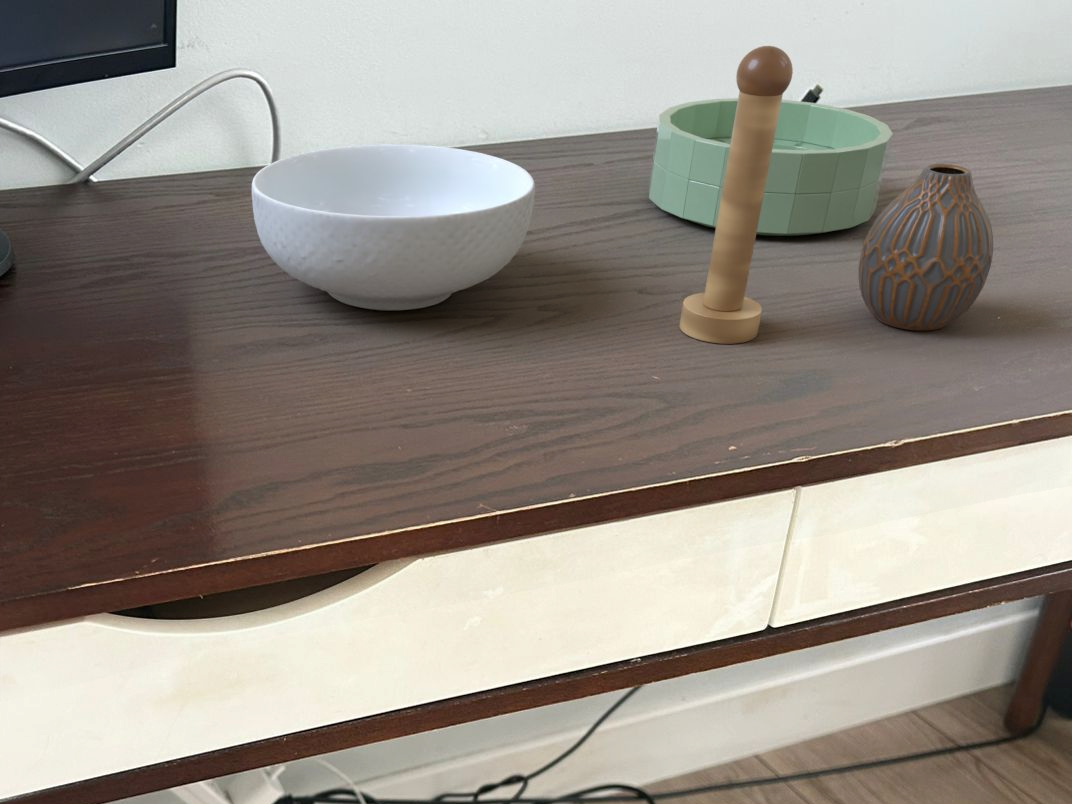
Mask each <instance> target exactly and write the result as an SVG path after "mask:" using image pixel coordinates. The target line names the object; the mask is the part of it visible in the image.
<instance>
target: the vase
mask: <svg viewBox="0 0 1072 804" xmlns="http://www.w3.org/2000/svg"><path fill="white" fill-rule="evenodd" d="M972 175H973V174H972V171H971V170H970V169H969V168H966V167H965V166H962V165H961V166H960V165H956V164H949V163H933V164H929V165H926V166H925V167H924V168H923V169H922V170H921V172H920V174H919V175H918V176H917V178H916V179H915V180H914V181H913V182H912V184H910V185H909V186H908V187H907V188H905V190H903V191H902V192H901V193H900V194H899V195H897V196H896V197H895V198H894V199H892V200H891V202H890V203H888V204H887V205H886V206H885V207H884V208H883V209H882V210H881V212H880V213H879V214H878V215H877V217H876V219H875V220H874V222H873V223H872V225H871V227H870V228H869V230H868V232H867V234H866V237H865V239H864V241H863V243H862V249H861V252H860V257H859V263H858V285H859V291H860V295H861V298H862V300H863V302H864V304H865V306H866V308H867V309H868V310H869V312H870V313H871V314H872V316H873V317H874V318H875V319H876V320H878V321H879V322H881V323H882V324H885V325H887V326H889V327H890V326H891V327H893V328H897V329H902V330H908V331H909V330H910V331H925V332H926V331H935V330H939V329H942V328H944V327H946V326H947V325H950V324H951V323H953V322H954V321H956V320H957V319H959V318H960V317H961V316H963V315H964V314H965V313H966V312H968V310H969V309H970V308H971V307H972V305H973V304H974V303H975V301H976V300H977V298H978V297H979V295H980V294H981V292H982V290H983V288H984V286H985V284H986V281H987V279H988V276H989V273H990V271H991V270H990V269H991V266H992V262H993V256H994V234H993V233H994V232H993V228H992V224H991V221H990V218H989V215H988V213H987V211H986V210H985V208H984V206H983V203H982V202H981V200H980V198H979V196H978V194H977V192H976V189H975V186H974V181H973V176H972Z"/></svg>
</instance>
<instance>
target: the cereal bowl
mask: <svg viewBox="0 0 1072 804" xmlns="http://www.w3.org/2000/svg"><path fill="white" fill-rule="evenodd" d="M535 183H536V182H535V180H534V178H533V176H532V175H531V174H530V173H529V171H527V170H526V169H525V168H523V167H522V166H520V165H518V164H516V163H514V162H511V161H509V160H506V159H504V158H500V157H497V156H494V155H491V154H490V155H489V154H486V153H482V152H479V151H478V152H477V151H474V150H473V151H472V150H468V149H462V148H456V147H455V148H454V147H447V146H446V147H445V146H439V145H436V146H435V145H425V144H403V143H402V144H401V143H400V144H399V143H382V144H379V143H378V144H361V145H359V144H358V145H348V146H338V147H337V146H336V147H329V148H321V149H317V150H311V151H306V152H302V153H297V154H294V155H290V156H287V157H284V158H280V159H278V160H276V161H273V162H271V163H269V164H268V165H266V166H264V167H263V168H261V169H260V170H259V171H258V172H256V174H255V175H254V177H253V179H252V181H251V200H252V201H251V203H252V204H251V206H252V212H253V220H254V224H255V229H256V231H257V235H258V238H259V240H260V244H261V245H262V247H263V248H264V250H265V251H266V253H267V254H268V256H269V257H270V258H271V260H272V261H273V262H274V263H275V264H276V265H277V266H278V267H279V268H280V269H282V270H283V271H284V272H285V273H287V274H288V275H289V276H290V277H292V278H294V279H296V280H298V281H299V282H301V283H304V284H306V285H307V286H311V287H313V288H314V289H319V290H321V291H324V292H326V293H327V294H328V295H329V296H331V297H332V298H333V299H335V300H336V301H338V302H341V303H342V304H345V305H348V306H351V307H356V308H361V309H366V310H373V311H375V310H376V311H408V310H418V309H424V308H428V307H431V306H435V305H437V304H440V303H442V302H444V301H445V300H447V299H448V298H449V297H450V296H452V294H453V293H456V292H458V291H462V290H466V289H468V288H471V287H473V286H475V285H478V284H480V283H483V282H484V281H486V280H489V279H490V278H491V277H492V276H495V275H496V274H498V272H499V271H501V270H503V269H504V268H505V266H506V265H508V264H509V263H510V262H511V261H512V259H513V258H514V257H515V256H516V255H517V254H518V252H519V250H520V248H521V247H522V245H523V244H524V241H525V239H526V237H527V233H528V230H529V227H530V225H531V223H532V222H531V219H532V217H533V212H534V210H533V209H534V203H535V193H536V184H535Z"/></svg>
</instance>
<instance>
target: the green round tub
mask: <svg viewBox="0 0 1072 804" xmlns="http://www.w3.org/2000/svg"><path fill="white" fill-rule="evenodd" d="M737 103H738V97H733V98H731V97H730V98H713V99H704V100H695V101H688V102H684V103H682V104H681V103H680V104H678V105H674V106H669V107H668V108H667V109H665V110H664V111H663V112H661V113H660V114H659V115H658V119H657V125H656V126H657V127H656V133H655V140H654V147H653V153H652V162H651V168H650V173H649V174H650V176H649V181H648V199H649V200H650V201H651V202H652V203H653V204H654V205H656V206H657V207H658V208H659V209H661V210H662V211H665V212H667V213H669V214H671V215H674V216H676V217H678V218H681V219H683V220H687V221H689V222H692V223H695V224H696V225H697V224H698V225H701V226H704V227H707V228H712V229H716V224H717V219H718V213H719V207H720V201H721V195H722V190H723V184H724V178H725V172H726V166H727V161H728V155H729V149H730V143H731V137H732V132H733V126H734V120H735V114H736V108H737ZM893 136H894V133H893V132H892V130H891V129H890V126H889V125H888V124H886V123H884V122H883V121H880V120H879V119H876V118H875V117H872V116H870V115H867V114H864V113H861V112H857V111H854V110H851V109H848V108H842V107H837V106H833V105H826V104H821V103H817V102H809V101H801V100H800V101H799V100H790V99H782V101H781V106H780V111H779V117H778V122H777V127H776V132H775V138H774V143H773V148H772V153H771V159H770V164H769V169H768V175H767V180H766V185H765V190H764V196H763V201H762V206H761V212H760V217H759V222H758V227H757V233H756V236H770V237H771V236H774V237H783V236H784V237H792V236H793V237H794V236H809V235H816V234H823V233H828V232H833V231H841V230H845V229H852V228H854V227H856V226H858V225H861V224H863V223H866V222H869V220H870V219H871V218H872V216H873V215H874V213H875V212H876V208H877V204H878V200H879V196H880V192H881V187H882V184H883V179H884V175H885V174H884V173H885V171H886V166H887V162H888V157H889V153H890V149H891V145H892V140H893Z"/></svg>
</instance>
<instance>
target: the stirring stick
mask: <svg viewBox="0 0 1072 804" xmlns="http://www.w3.org/2000/svg"><path fill="white" fill-rule="evenodd" d="M793 70H794V69H793V64H792V60H791V57H789V55H788V54H787V52H785V51H784V50H783V49H781V48H779V47H777V46H774V45H762V46H759V47H756V48H754V49H752V50H751V51H749V52H748V53H747V54H746V55H744V56H743V58H742V59H741V61H740V62H739V64H738V67H737V69H736V77H735V78H736V85H737V89H738V90H739V92H738V97H737V98H738V103H737V108H736V114H735V120H734V126H733V132H732V137H731V143H730V149H729V155H728V161H727V166H726V172H725V178H724V184H723V190H722V195H721V201H720V207H719V213H718V219H717V224H716V228H715V230H714V237H713V242H712V248H711V255H710V260H709V265H708V272H707V278H706V283H705V289H704V292H699V293H694V294H691V295H689V296H687V297H685V298H684V300H683V302H682V307H681V313H680V319H679V329H680V331H681V332H682V333H683V334H684V335H687V337H690V338H693V339H696V340H699V341H702V342H707V343H712V344H721V345H732V344H742V343H743V344H744V343H747V342H750V341H752V340H754V339H755V338H756V337H757V336H758V334H759V330H760V329H759V328H760V323H761V319H762V313H763V307H762V305H761V304H760V303H758V302H757V301H756V300H753V299H751V298H749V297H746V290H747V286H748V279H749V274H750V269H751V264H752V258H753V253H754V247H755V243H756V237H757V235H756V233H757V227H758V222H759V217H760V212H761V206H762V201H763V196H764V190H765V185H766V180H767V175H768V169H769V164H770V159H771V153H772V148H773V143H774V138H775V132H776V127H777V122H778V117H779V111H780V106H781V101H782V100H783V95H784V93H785V92H786V91H787V89H788V88H789V86H790V85H791V82H792V80H793V79H792V78H793V74H794V73H793V72H794V71H793Z"/></svg>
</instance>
